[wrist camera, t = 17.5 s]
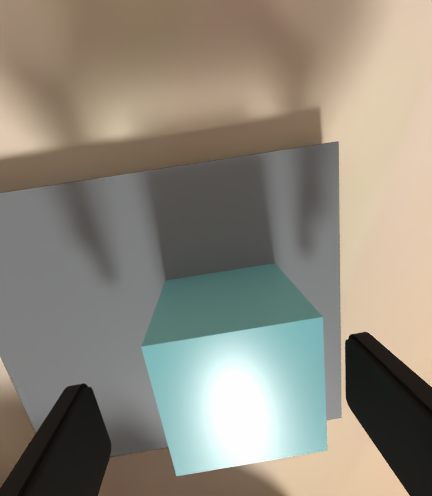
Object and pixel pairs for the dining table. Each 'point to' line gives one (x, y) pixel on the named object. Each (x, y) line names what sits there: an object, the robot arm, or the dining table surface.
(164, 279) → the board
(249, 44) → the dining table surface
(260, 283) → the teal rectangular block
